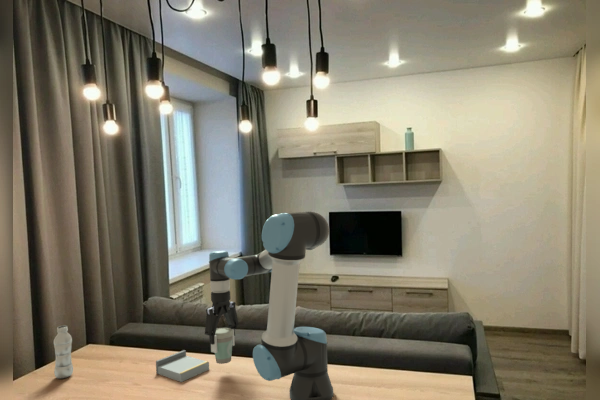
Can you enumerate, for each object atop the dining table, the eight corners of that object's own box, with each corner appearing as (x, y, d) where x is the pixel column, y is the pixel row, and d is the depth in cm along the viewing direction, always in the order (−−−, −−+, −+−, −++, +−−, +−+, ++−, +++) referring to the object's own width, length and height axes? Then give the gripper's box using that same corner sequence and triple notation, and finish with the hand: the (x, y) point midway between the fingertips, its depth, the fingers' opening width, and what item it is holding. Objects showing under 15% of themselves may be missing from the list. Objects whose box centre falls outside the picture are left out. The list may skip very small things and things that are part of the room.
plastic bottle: (50, 379, 175) (48, 328, 174) (66, 372, 181) (64, 323, 180) (61, 381, 172) (59, 330, 171) (77, 375, 178) (75, 325, 177)
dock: (209, 369, 179) (208, 357, 179) (181, 382, 168) (180, 368, 168) (184, 361, 188) (183, 350, 188) (156, 373, 177) (155, 360, 177)
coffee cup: (230, 365, 169) (228, 333, 169) (209, 364, 171) (207, 333, 171) (237, 357, 177) (236, 327, 177) (217, 357, 179) (216, 327, 179)
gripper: (232, 285, 185) (235, 339, 185) (192, 295, 168) (195, 355, 168) (246, 286, 181) (248, 342, 181) (206, 297, 163) (209, 358, 163)
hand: (223, 348), depth 174 cm, fingers closed on coffee cup, 8 cm apart
